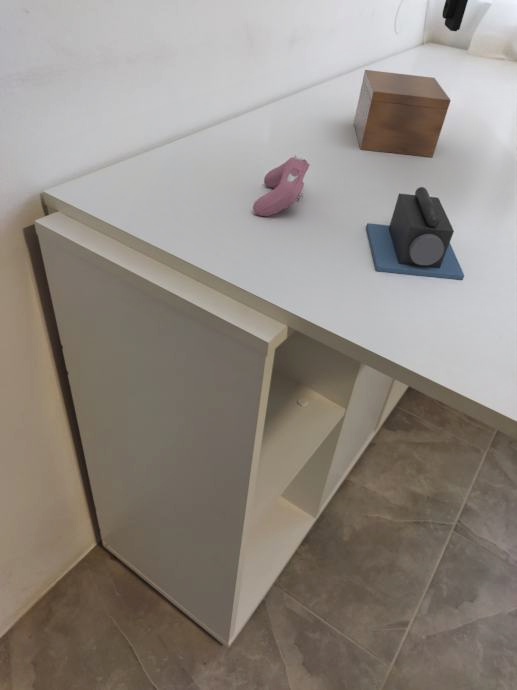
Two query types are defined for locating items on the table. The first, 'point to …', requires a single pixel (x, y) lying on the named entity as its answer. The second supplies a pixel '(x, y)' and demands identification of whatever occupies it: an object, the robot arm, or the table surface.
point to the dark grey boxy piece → (420, 229)
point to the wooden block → (400, 113)
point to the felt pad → (389, 263)
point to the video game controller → (282, 187)
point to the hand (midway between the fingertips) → (499, 33)
